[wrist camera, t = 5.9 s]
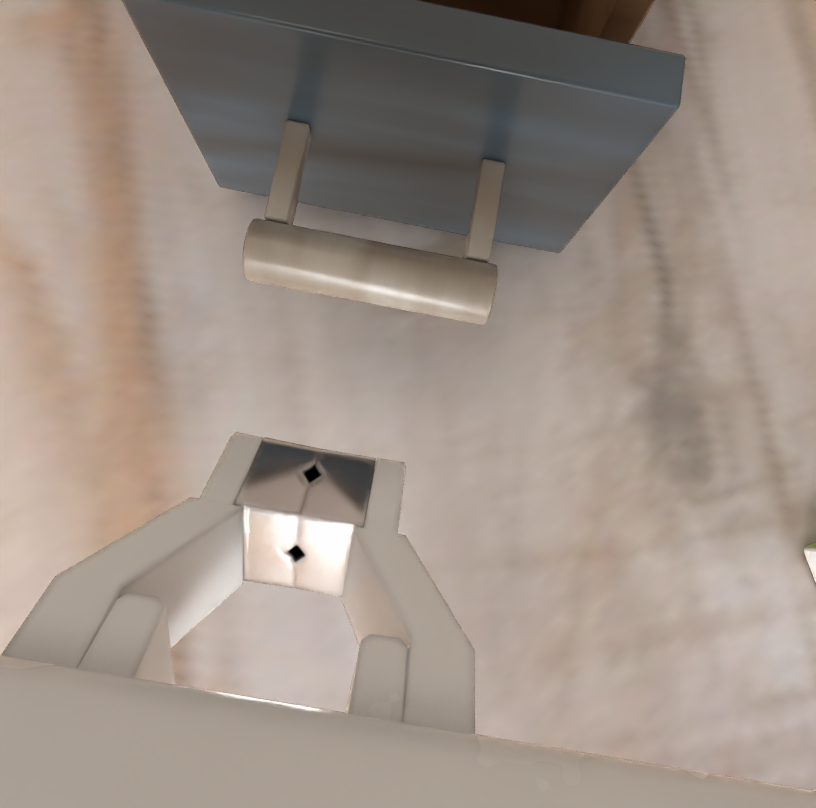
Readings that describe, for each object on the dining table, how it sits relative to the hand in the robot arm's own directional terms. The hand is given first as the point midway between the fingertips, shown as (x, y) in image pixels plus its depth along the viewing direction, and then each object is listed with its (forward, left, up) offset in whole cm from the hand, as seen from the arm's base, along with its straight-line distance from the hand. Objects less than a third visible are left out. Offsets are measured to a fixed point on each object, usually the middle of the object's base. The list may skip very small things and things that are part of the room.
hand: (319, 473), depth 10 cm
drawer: (0, +13, -8) cm, 15 cm away
